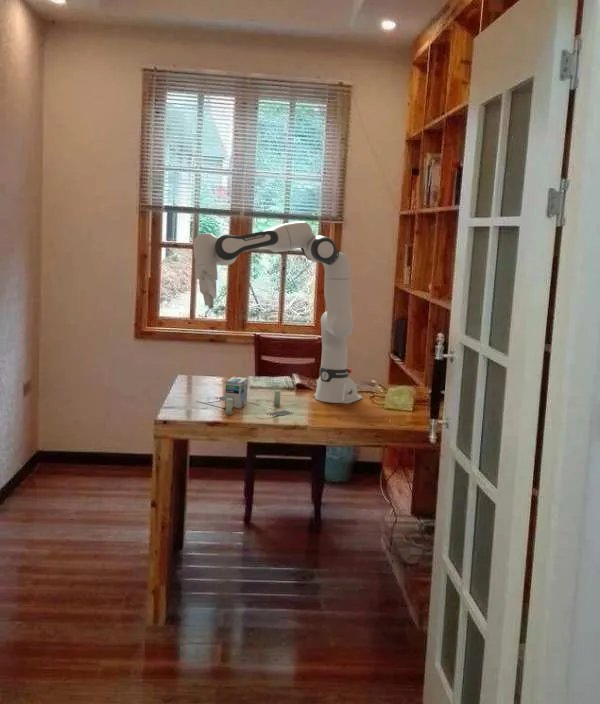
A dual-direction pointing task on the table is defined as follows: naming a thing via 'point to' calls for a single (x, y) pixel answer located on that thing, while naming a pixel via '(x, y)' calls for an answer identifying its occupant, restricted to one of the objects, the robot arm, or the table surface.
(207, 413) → the table surface
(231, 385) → the light bulb box
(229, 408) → the trap lane
